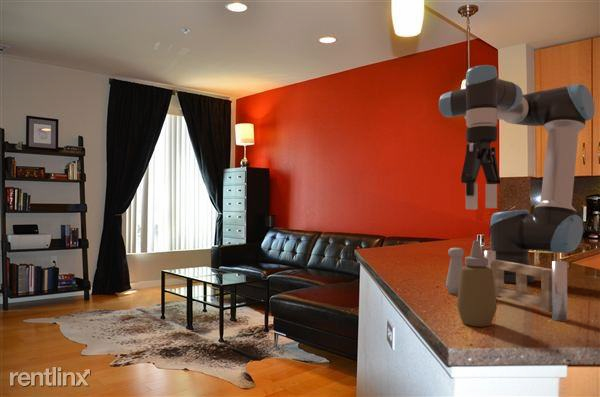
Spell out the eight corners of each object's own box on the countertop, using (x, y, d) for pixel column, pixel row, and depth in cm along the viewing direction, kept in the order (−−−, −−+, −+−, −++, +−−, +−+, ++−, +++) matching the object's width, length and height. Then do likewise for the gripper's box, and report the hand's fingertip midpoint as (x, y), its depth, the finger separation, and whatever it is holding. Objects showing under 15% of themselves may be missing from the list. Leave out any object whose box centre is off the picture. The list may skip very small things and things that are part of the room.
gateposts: (481, 298, 123) (481, 250, 123) (490, 297, 124) (490, 250, 124) (560, 321, 99) (559, 262, 99) (570, 320, 100) (570, 262, 100)
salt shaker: (468, 295, 126) (468, 249, 126) (447, 294, 127) (447, 248, 127) (465, 291, 132) (465, 247, 132) (444, 290, 133) (444, 246, 133)
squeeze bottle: (450, 319, 101) (450, 239, 101) (485, 318, 102) (485, 239, 102) (467, 329, 93) (466, 242, 93) (504, 328, 94) (504, 242, 94)
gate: (492, 296, 120) (492, 260, 120) (498, 295, 121) (498, 259, 121) (548, 312, 103) (548, 270, 103) (555, 311, 103) (555, 269, 103)
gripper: (484, 133, 129) (484, 207, 129) (446, 123, 110) (447, 209, 110) (512, 130, 124) (512, 207, 124) (477, 119, 105) (477, 210, 105)
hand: (481, 208), depth 117 cm, fingers open, 13 cm apart
